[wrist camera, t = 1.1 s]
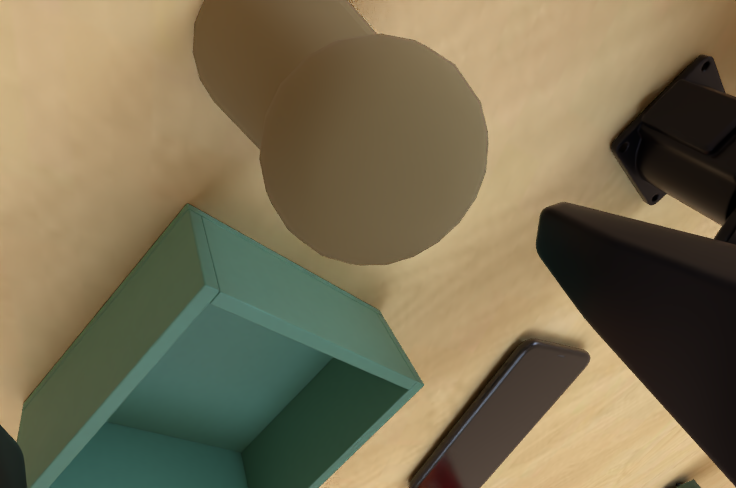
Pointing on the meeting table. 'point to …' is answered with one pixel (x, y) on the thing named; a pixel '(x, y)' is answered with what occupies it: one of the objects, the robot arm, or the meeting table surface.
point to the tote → (215, 374)
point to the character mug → (688, 485)
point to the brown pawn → (346, 124)
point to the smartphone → (502, 415)
